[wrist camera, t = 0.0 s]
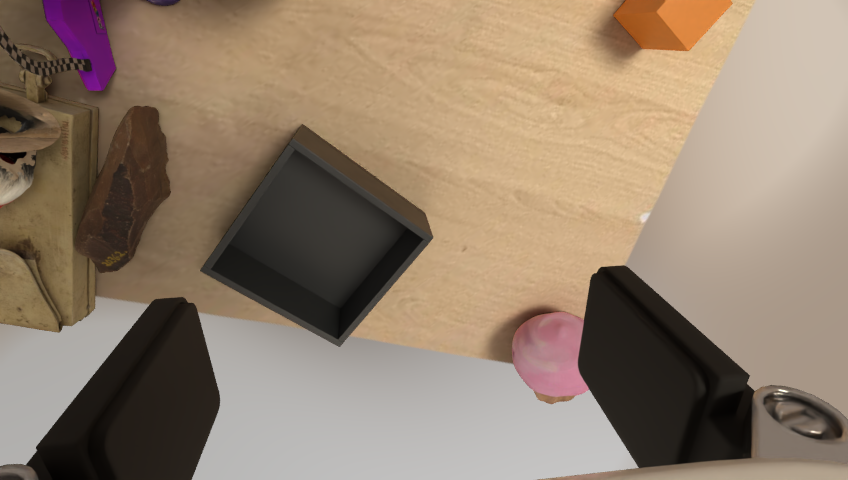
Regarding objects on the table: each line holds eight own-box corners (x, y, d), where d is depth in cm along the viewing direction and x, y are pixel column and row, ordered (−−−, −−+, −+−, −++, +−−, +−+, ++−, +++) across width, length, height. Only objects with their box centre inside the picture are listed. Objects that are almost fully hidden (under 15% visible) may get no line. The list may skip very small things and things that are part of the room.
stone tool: (206, 121, 35) (157, 265, 41) (154, 89, 35) (113, 238, 41) (149, 132, 30) (103, 296, 36) (87, 94, 30) (52, 264, 36)
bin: (302, 123, 37) (292, 137, 32) (425, 213, 42) (433, 237, 37) (220, 241, 40) (199, 271, 35) (342, 312, 45) (339, 347, 40)
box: (62, 347, 37) (95, 313, 41) (70, 66, 29) (110, 62, 33) (-58, 327, 35) (-10, 294, 39) (-86, 21, 27) (-21, 23, 31)
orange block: (649, -29, 35) (701, -40, 30) (679, 7, 37) (733, 3, 31) (612, 15, 36) (655, 11, 31) (642, 49, 38) (688, 51, 32)
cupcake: (575, 345, 53) (587, 289, 46) (608, 415, 46) (627, 363, 39) (501, 358, 52) (502, 304, 46) (523, 431, 46) (528, 381, 39)
